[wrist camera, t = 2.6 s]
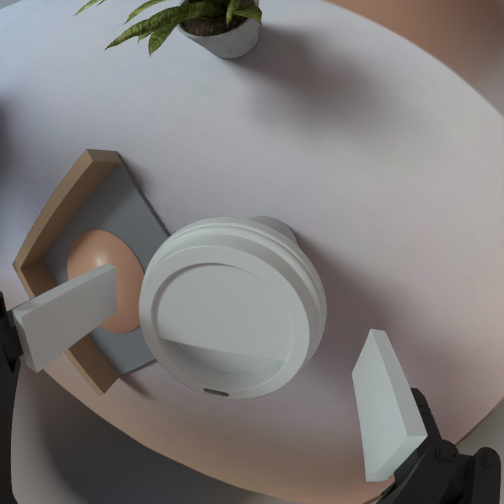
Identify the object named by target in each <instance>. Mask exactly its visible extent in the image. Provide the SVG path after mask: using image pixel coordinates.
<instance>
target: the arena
mask: <svg viewBox="0 0 504 504" xmlns="http://www.w3.org/2000/svg"><path fill="white" fill-rule="evenodd" d="M169 237H170V235H169V234H168V232H167V231H166V229H165V228H164V226H163V225H162V223H161V222H160V220H159V219H158V217H157V216H156V214H155V213H154V211H153V209H152V208H151V206H150V205H149V203H148V202H147V200H146V199H145V197H144V195H143V194H142V192H141V191H140V189H139V188H138V186H137V184H136V183H135V181H134V180H133V178H132V176H131V175H130V173H129V171H128V170H127V168H126V166H125V165H124V163H123V162H122V160H121V158H120V157H119V155H118V153H117V151H106V150H93V149H86V150H85V151H84V153H83V154H82V155H81V156H80V158H79V159H78V160H77V161H76V163H75V164H74V165H73V167H72V168H71V169H70V171H69V172H68V173H67V175H66V176H65V177H64V179H63V180H62V182H61V183H60V184H59V186H58V187H57V189H56V190H55V192H54V193H53V195H52V196H51V198H50V199H49V201H48V202H47V204H46V205H45V207H44V208H43V210H42V212H41V213H40V215H39V216H38V218H37V220H36V221H35V223H34V225H33V227H32V228H31V230H30V232H29V234H28V235H27V237H26V239H25V241H24V243H23V245H22V246H21V248H20V250H19V252H18V254H17V256H16V258H15V260H14V262H13V267H14V269H15V271H16V273H17V275H18V277H19V279H20V281H21V283H22V285H23V287H24V289H25V290H26V292H27V294H28V296H29V298H30V299H32V298H34V297H36V296H38V295H40V294H42V293H45V292H47V291H49V290H51V289H53V288H55V287H57V286H59V285H61V284H63V283H65V282H67V281H69V280H72V279H74V278H76V277H78V276H80V275H82V274H84V273H86V272H88V271H90V270H93V269H95V268H97V267H99V266H101V265H103V264H109V265H112V266H115V267H116V293H117V312H116V313H115V314H114V315H112V316H111V317H109V318H108V319H107V320H105V321H104V322H103V323H101V324H100V325H99V326H97V327H96V328H95V329H93V330H92V331H91V332H89V333H88V334H87V335H85V336H84V337H83V338H81V339H80V340H79V341H77V342H76V343H75V344H73V345H72V346H71V347H69V348H68V349H67V350H66V351H64V353H65V354H66V356H67V357H68V358H69V360H70V361H71V362H72V364H73V365H74V366H75V368H76V369H77V370H78V371H79V373H80V374H81V375H82V376H83V378H84V379H85V380H86V381H87V383H88V384H89V385H90V386H91V387H92V388H93V390H94V391H95V392H96V393H97V394H98V395H99V396H100V395H102V394H104V393H105V392H106V391H107V390H108V389H109V388H110V387H111V386H112V384H113V383H114V382H115V381H116V380H117V379H118V378H119V377H120V376H121V375H123V374H125V373H127V372H130V371H132V370H134V369H136V368H138V367H140V366H142V365H144V364H146V363H148V362H150V361H152V360H154V359H156V358H155V357H154V356H153V354H152V352H151V351H150V349H149V347H148V345H147V343H146V341H145V339H144V336H143V333H142V330H141V326H140V321H139V299H140V294H141V288H142V283H143V279H144V276H145V273H146V270H147V267H148V265H149V263H150V261H151V259H152V258H153V256H154V254H155V253H156V252H157V250H158V249H159V247H160V246H161V245H162V244H163V243H164V242H165V241H166V240H167V239H168V238H169Z"/></svg>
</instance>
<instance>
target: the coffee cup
mask: <svg viewBox="0 0 504 504" xmlns="http://www.w3.org/2000/svg"><path fill="white" fill-rule="evenodd" d="M326 319H327V303H326V296H325V292H324V288H323V285H322V282H321V279H320V277H319V275H318V273H317V271H316V269H315V268H314V266H313V264H312V263H311V261H310V260H309V259H308V257H307V256H306V255H305V254H304V253H303V251H302V250H301V249H300V248H299V246H298V243H297V240H296V238H295V236H294V234H293V232H292V231H291V230H290V228H289V227H288V226H286V225H285V224H284V223H283V222H281V221H279V220H277V219H274V218H271V217H254V218H250V219H242V218H235V217H216V218H208V219H204V220H200V221H197V222H194V223H191V224H189V225H187V226H185V227H183V228H181V229H179V230H178V231H176V232H175V233H174V234H172V235H171V236H170V237H169V238H168V239H167V240H166V241H165V242H164V243H163V244H162V245H161V246H160V247H159V249H158V250H157V252H156V253H155V254H154V256H153V258H152V259H151V261H150V263H149V265H148V267H147V270H146V273H145V276H144V279H143V283H142V288H141V294H140V299H139V321H140V326H141V330H142V333H143V336H144V339H145V341H146V343H147V345H148V347H149V349H150V351H151V352H152V354H153V356H154V357H155V358H156V360H157V361H158V362H159V363H160V365H161V366H162V367H163V368H164V369H165V370H166V371H167V372H168V373H169V374H171V375H172V376H173V377H174V378H176V379H177V380H178V381H180V382H181V383H183V384H184V385H186V386H188V387H190V388H191V389H194V390H196V391H198V392H200V393H203V394H206V395H209V396H213V397H217V398H222V399H232V400H242V399H251V398H256V397H260V396H264V395H267V394H269V393H271V392H274V391H276V390H277V389H279V388H281V387H282V386H284V385H285V384H286V383H288V382H289V381H290V380H291V379H292V378H293V377H294V376H295V375H296V374H298V373H299V372H300V371H301V370H302V369H303V368H304V367H305V365H306V364H307V363H308V362H309V361H310V359H311V358H312V357H313V355H314V353H315V352H316V350H317V348H318V346H319V344H320V341H321V339H322V336H323V333H324V330H325V325H326Z"/></svg>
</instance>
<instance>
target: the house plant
mask: <svg viewBox="0 0 504 504" xmlns="http://www.w3.org/2000/svg"><path fill="white" fill-rule="evenodd" d="M97 1H99V0H91V1H90V2H89V3H87V4H86V5H85V6H83V7H82V8H81V9H80V10H79V11H78V12H77V13H76V14H78V13H79V12H81V11H82V10H84V9H86V8H87V7H89V6H91V5H92V4H94V3H95V2H97ZM104 1H105V0H103V1H102V2H104ZM161 1H165V0H151V1H148V2H146V3H144V4H143V5H141V6H140V7H138V8H137V9H136V10H134V11H133V12H132V13H131V14H130V16H129V18H128V20H127V22H128V21H130V20H131V19H132V18H133V17H135V16H136V15H137V14H139V13H140V12H142V11H143V10H145V9H147V8H148V7H150V6H152V5H154V4H156V3H159V2H161ZM102 2H101V3H102ZM101 3H99V4H101ZM99 4H98V5H99ZM98 5H97V6H98ZM76 14H75V15H76ZM75 15H74V16H75ZM261 16H262V12H261V10H260V8H259V0H182V1H181V2H180V3H179V5H178V6H176V7H172V8H168V9H165V10H163V11H161V12H159V13H157V14H155V15H153V16H152V17H150V18H149V19H146V20H143V21H141V22H138V23H137V24H135V25H133V26H132V27H130V28H129V29H127V30H126V31H125V32H124V33H123V34H121V35H120V36H119V37H118V38H117V39H115V40H114V41H113V42H112V43H111V44H110V45H109V46H108V47H107V48H110V47H113V46H116V45H118V44H120V43H122V42H124V41H126V40H128V39H130V38H132V37H134V36H139V38H138V43H139V41H140V40H141V39H143V38H145V37H147V36H148V35H149V34H151V33H152V32H153V34H152V35H151V37H150V39H149V54H150V56H151V53H153V52H154V51H155V50H157V49H158V48H159V47H160V46H161V44H162V43H163V42H164V41H165V39H166V38H167V37H168V36H169V34H170V33H171V32H172V30H173V29H174V28H175V27H177V28H178V30H179V31H180V32H181V33H183V34H184V35H185V36H187V37H188V38H190V39H192V40H193V41H195V42H196V43H198V44H199V45H201V46H202V47H204V48H205V49H207V50H208V51H210V52H211V53H213V54H214V55H216V56H218V57H221V58H227V59H228V58H237V57H240V56H243V55H245V54H247V53H248V52H249V51H251V50H252V49H253V48H254V47H255V45H256V44H257V41H258V35H259V23H260V24H261V26H262V23H261ZM127 22H126V23H127ZM122 26H123V25H122ZM107 48H106V49H107ZM106 49H105V50H106ZM105 50H104V51H105Z"/></svg>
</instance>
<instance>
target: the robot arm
mask: <svg viewBox="0 0 504 504" xmlns="http://www.w3.org/2000/svg"><path fill="white" fill-rule="evenodd" d="M116 312H117V293H116V267H115V266H112V265H109V264H103V265H101V266H99V267H97V268H95V269H93V270H90V271H88V272H86V273H84V274H82V275H80V276H78V277H76V278H74V279H72V280H69V281H67V282H65V283H63V284H61V285H59V286H57V287H55V288H53V289H51V290H49V291H47V292H45V293H42V294H40V295H38V296H36V297H34V298H32V299H30V300H28V301H26V302H25V303H23V304H21V305H19V306H17V307H15V308H13V309H11V310H9V311H6V307H5V302H4V297H3V293H2V292H1V291H0V504H18V503H17V501H16V500H15V498H14V495H13V493H12V484H11V430H12V417H13V408H14V400H15V392H16V387H17V381H18V374H19V369H20V358H19V357H20V356H21V355H23V354H24V358H25V361H26V364H27V365H28V366H29V367H30V368H32V369H33V370H34V371H35V372H39V371H40V370H41V369H42V368H44V367H45V366H46V365H47V364H49V363H50V362H51V361H53V360H54V359H55V358H56V357H58V356H59V355H60V354H62V353H63V352H64V351H66V350H67V349H68V348H69V347H71V346H72V345H73V344H75V343H76V342H77V341H79V340H80V339H81V338H83V337H84V336H85V335H87V334H88V333H89V332H91V331H92V330H93V329H95V328H96V327H97V326H99V325H100V324H101V323H103V322H104V321H105V320H107V319H108V318H109V317H111V316H112V315H114V314H115V313H116ZM352 378H353V384H354V390H355V396H356V402H357V408H358V415H359V422H360V429H361V436H362V444H363V453H364V462H365V472H366V482H377V481H386V480H387V479H388V478H389V477H390V476H391V475H392V474H393V473H394V476H395V482H394V483H392V484H391V485H390V486H389V487H388V488H387V489H386V490H385V491H383V492H382V493H381V495H382V497H381V498H380V499H379V500H378V502H377V503H376V504H499V501H500V485H501V461H500V457H499V455H498V454H497V452H496V451H495V450H493V449H491V448H489V447H483V448H480V449H479V450H478V451H477V453H476V454H475V455H474V456H470V455H464V454H459V452H458V449H457V448H456V447H455V445H454V444H452V443H451V442H450V441H447V440H442V438H441V436H440V433H439V430H438V428H437V425H436V423H435V420H434V418H433V415H431V410H430V408H429V407H428V403H427V401H426V399H425V396H424V395H423V394H422V393H421V392H420V391H419V390H418V389H417V388H410V387H409V384H408V382H407V380H406V377H405V375H404V372H403V370H402V368H401V365H400V363H399V361H398V358H397V356H396V354H395V352H394V349H393V347H392V345H391V343H390V341H389V339H388V336H387V334H386V332H385V331H382V330H376V329H370V332H369V334H368V337H367V339H366V342H365V344H364V347H363V349H362V351H361V354H360V356H359V358H358V361H357V363H356V365H355V367H354V370H353V372H352Z"/></svg>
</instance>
